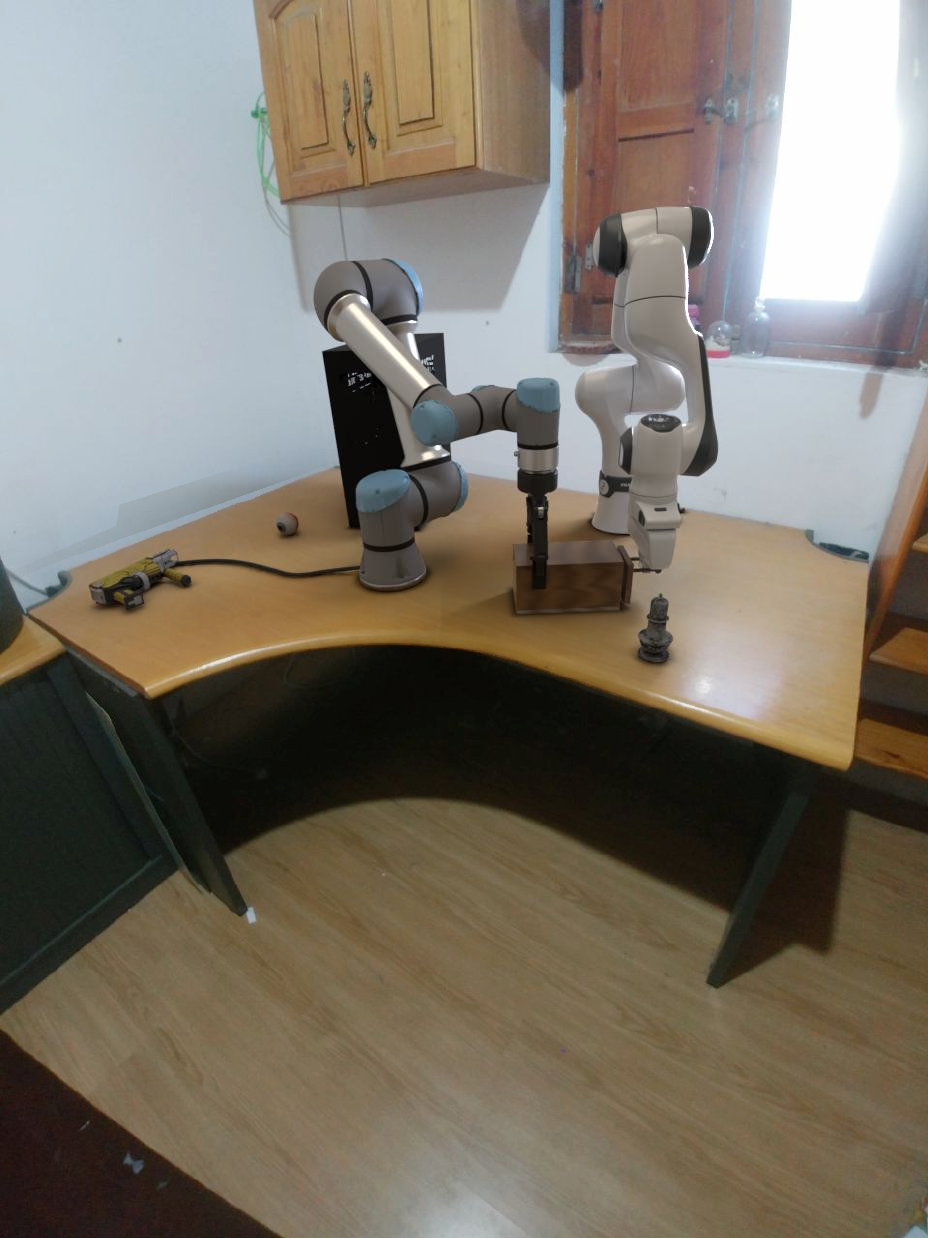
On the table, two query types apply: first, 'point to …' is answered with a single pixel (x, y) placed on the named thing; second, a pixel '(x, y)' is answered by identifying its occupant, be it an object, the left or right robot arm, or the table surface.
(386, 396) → the black piece
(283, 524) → the eyeball
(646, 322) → the right robot arm
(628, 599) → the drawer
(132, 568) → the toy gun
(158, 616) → the table surface
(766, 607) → the table surface
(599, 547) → the brown wooden box
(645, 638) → the stone chess piece
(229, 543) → the table surface
